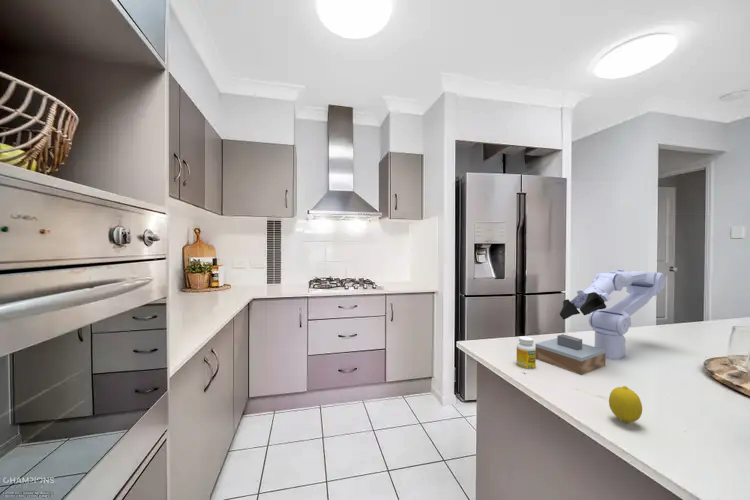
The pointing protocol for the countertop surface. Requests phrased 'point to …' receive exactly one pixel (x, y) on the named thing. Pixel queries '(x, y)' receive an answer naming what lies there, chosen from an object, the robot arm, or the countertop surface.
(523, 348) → the supplement bottle
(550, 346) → the lid
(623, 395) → the lemon
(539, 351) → the box
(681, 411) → the countertop surface
